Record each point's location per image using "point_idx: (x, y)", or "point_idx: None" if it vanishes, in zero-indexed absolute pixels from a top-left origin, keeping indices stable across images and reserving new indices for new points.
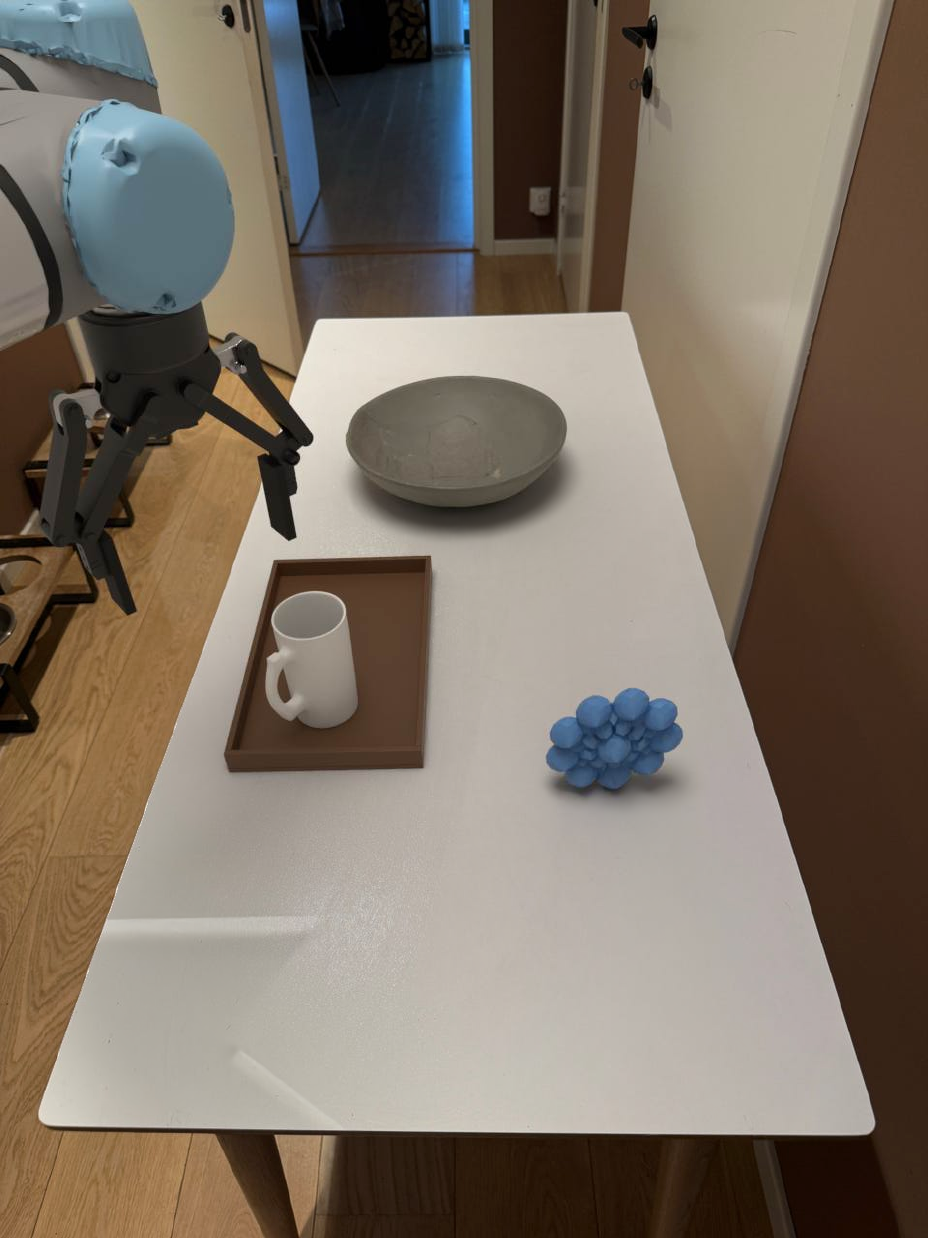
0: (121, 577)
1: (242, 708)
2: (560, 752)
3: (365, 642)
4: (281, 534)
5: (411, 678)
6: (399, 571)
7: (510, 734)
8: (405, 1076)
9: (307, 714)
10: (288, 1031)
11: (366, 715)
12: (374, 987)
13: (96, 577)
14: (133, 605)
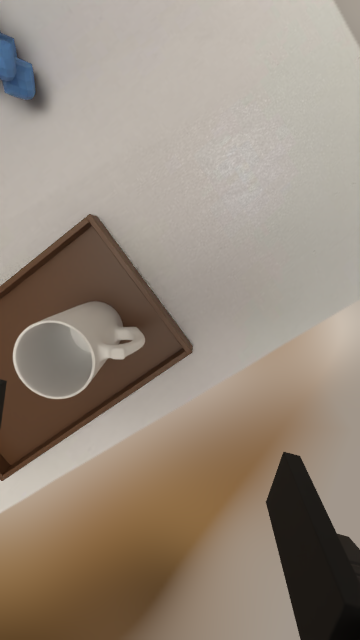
0: (312, 509)
1: (146, 376)
2: (18, 72)
3: None
4: (2, 402)
5: (28, 287)
6: None
7: (22, 175)
8: (317, 42)
9: (119, 325)
10: (334, 143)
11: (84, 292)
12: (275, 112)
13: (352, 544)
14: (290, 460)
